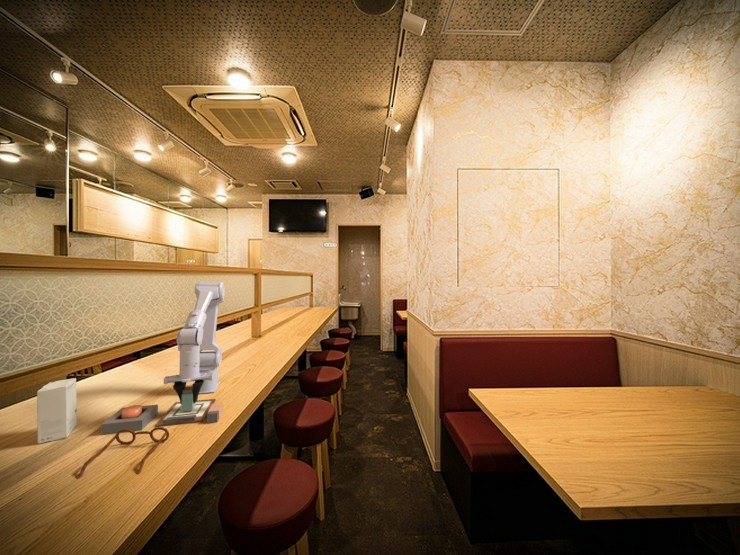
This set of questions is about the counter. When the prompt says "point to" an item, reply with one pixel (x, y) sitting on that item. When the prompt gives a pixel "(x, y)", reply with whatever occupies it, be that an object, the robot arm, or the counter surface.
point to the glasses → (130, 443)
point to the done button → (132, 412)
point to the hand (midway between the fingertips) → (189, 402)
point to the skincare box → (56, 410)
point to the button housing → (129, 420)
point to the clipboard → (186, 413)
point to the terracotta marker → (215, 412)
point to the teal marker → (187, 399)
